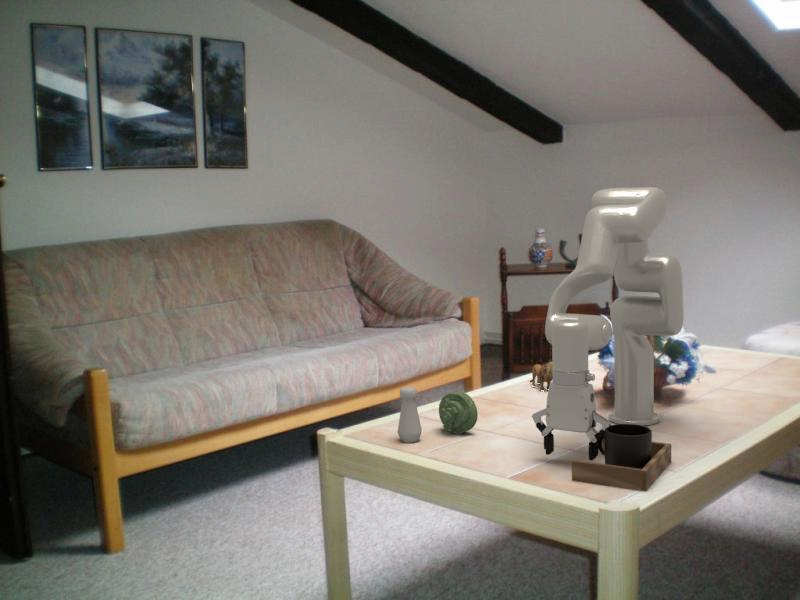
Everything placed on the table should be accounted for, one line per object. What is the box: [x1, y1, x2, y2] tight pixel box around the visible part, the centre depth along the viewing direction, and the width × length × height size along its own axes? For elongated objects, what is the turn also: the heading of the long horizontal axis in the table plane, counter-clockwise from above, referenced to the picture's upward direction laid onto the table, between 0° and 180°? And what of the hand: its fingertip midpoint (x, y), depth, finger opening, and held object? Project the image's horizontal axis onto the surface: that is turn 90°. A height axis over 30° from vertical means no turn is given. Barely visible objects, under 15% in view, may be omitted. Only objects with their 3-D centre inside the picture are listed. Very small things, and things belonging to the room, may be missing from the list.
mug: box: [599, 423, 653, 469], centre depth 181 cm, size 9×12×9 cm
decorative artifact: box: [438, 391, 478, 435], centre depth 212 cm, size 10×7×10 cm
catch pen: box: [571, 439, 672, 492], centre depth 181 cm, size 20×15×4 cm
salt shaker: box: [397, 386, 423, 444], centre depth 208 cm, size 6×6×13 cm
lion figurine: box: [529, 361, 553, 391], centre depth 257 cm, size 15×5×9 cm, turn 22°
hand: (570, 456), depth 186 cm, fingers open, 9 cm apart
